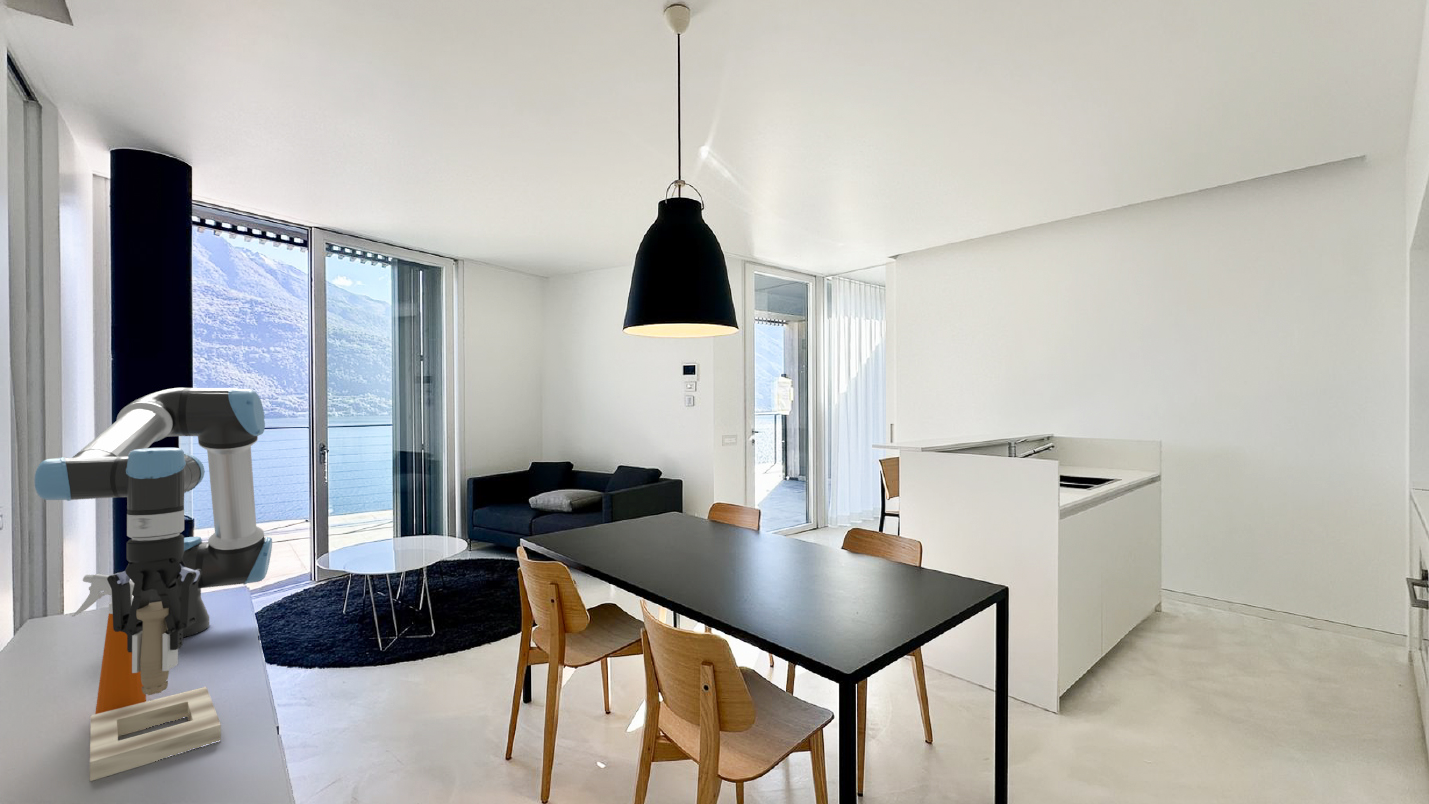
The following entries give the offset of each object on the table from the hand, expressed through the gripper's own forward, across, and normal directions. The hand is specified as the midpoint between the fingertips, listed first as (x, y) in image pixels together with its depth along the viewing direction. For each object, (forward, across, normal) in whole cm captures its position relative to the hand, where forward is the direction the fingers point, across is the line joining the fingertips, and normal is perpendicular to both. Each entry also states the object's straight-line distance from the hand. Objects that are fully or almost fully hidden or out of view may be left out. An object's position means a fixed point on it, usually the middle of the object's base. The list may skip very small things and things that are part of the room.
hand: (155, 668), depth 109 cm
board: (+12, 0, 0) cm, 12 cm away
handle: (+4, 0, 0) cm, 4 cm away
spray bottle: (+12, -15, +12) cm, 23 cm away
